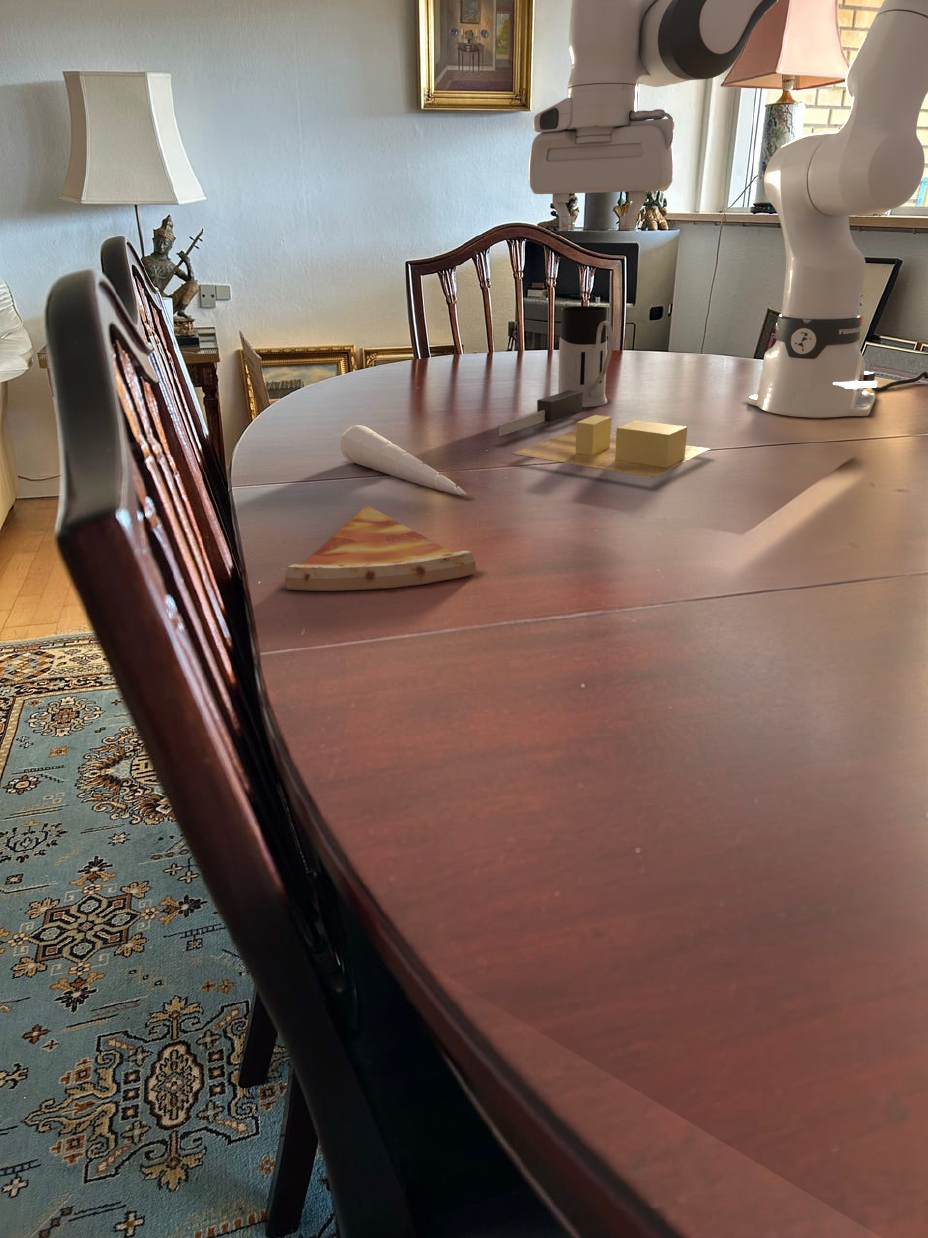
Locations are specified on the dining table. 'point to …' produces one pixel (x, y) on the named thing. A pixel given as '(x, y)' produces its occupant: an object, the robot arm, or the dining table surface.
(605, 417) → the block
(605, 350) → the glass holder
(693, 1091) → the dining table surface
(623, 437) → the butter
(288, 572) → the pizza slice
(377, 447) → the unicorn horn
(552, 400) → the knife
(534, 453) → the board
